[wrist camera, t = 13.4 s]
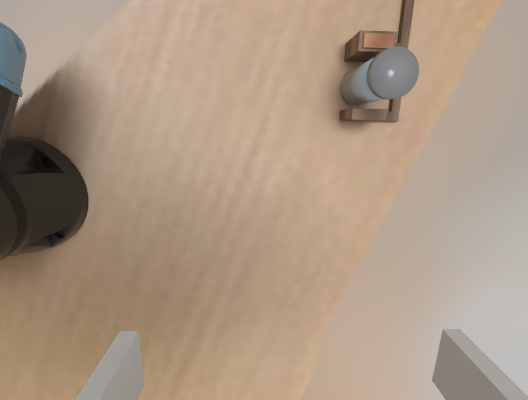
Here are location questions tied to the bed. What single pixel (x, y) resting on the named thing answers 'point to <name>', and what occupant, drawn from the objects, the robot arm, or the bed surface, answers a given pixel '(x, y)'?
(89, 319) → the bed surface
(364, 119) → the clip rack
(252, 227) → the bed surface
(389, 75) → the fuse
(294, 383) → the bed surface
